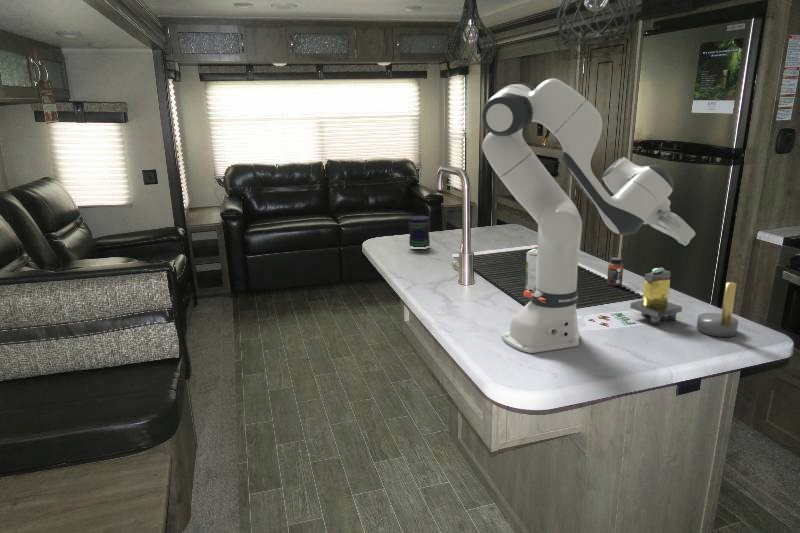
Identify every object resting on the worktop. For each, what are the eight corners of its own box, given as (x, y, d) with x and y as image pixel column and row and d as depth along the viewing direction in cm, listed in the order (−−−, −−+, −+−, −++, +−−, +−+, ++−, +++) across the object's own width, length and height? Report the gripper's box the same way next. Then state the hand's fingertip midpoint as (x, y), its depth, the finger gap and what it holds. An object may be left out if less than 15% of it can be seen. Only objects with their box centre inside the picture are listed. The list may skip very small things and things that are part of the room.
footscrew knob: (721, 339, 148) (728, 286, 144) (688, 327, 157) (694, 277, 153) (744, 332, 153) (752, 280, 148) (711, 320, 161) (718, 271, 157)
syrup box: (531, 286, 200) (533, 247, 196) (546, 288, 196) (548, 250, 192) (524, 290, 196) (525, 251, 192) (539, 293, 192) (541, 253, 188)
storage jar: (410, 245, 268) (409, 215, 264) (430, 245, 266) (430, 215, 262) (408, 250, 258) (407, 219, 254) (428, 250, 257) (428, 219, 253)
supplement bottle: (622, 286, 195) (624, 260, 193) (607, 285, 197) (608, 259, 195) (621, 282, 200) (623, 257, 197) (607, 281, 202) (608, 256, 199)
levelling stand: (657, 327, 159) (662, 275, 154) (629, 316, 167) (633, 267, 163) (680, 321, 163) (686, 270, 158) (652, 311, 172) (657, 262, 167)
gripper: (679, 205, 132) (715, 243, 135) (645, 193, 152) (677, 226, 154) (659, 224, 134) (695, 261, 136) (628, 209, 153) (660, 242, 156)
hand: (685, 242), depth 145 cm, fingers closed
